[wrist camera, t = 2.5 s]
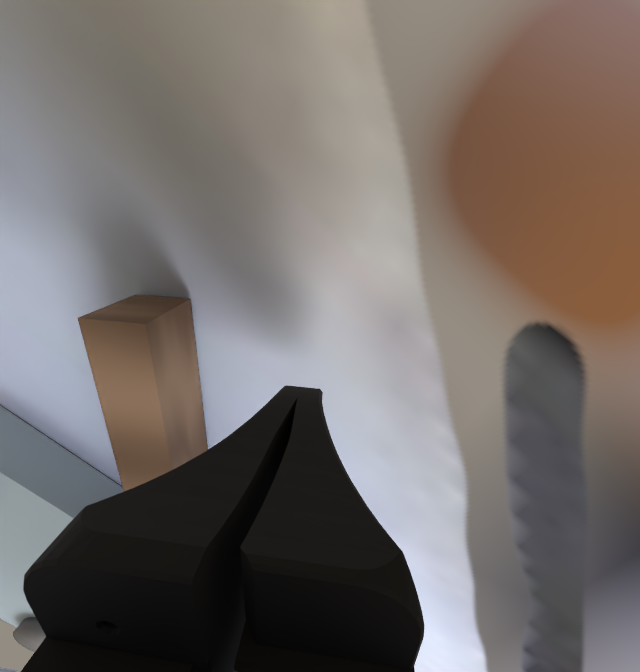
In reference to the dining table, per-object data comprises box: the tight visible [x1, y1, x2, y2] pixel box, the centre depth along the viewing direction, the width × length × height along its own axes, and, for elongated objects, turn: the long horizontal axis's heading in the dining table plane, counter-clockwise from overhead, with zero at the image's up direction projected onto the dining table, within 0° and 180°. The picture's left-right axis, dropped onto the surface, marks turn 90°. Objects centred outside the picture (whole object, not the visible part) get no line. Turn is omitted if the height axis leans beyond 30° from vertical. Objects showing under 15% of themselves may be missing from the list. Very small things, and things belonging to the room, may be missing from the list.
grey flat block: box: [0, 406, 124, 652], centre depth 19 cm, size 12×14×3 cm
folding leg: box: [78, 295, 208, 491], centre depth 14 cm, size 14×2×3 cm, turn 177°
